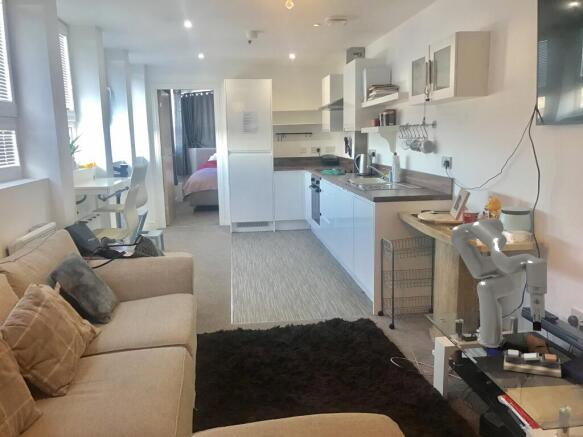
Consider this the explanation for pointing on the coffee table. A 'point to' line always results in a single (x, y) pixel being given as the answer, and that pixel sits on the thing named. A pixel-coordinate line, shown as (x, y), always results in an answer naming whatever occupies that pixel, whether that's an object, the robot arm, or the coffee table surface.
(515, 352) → the button left
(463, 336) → the coffee table surface
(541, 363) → the switch panel
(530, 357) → the rocker
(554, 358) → the button right
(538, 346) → the sunglasses case
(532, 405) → the coffee table surface
